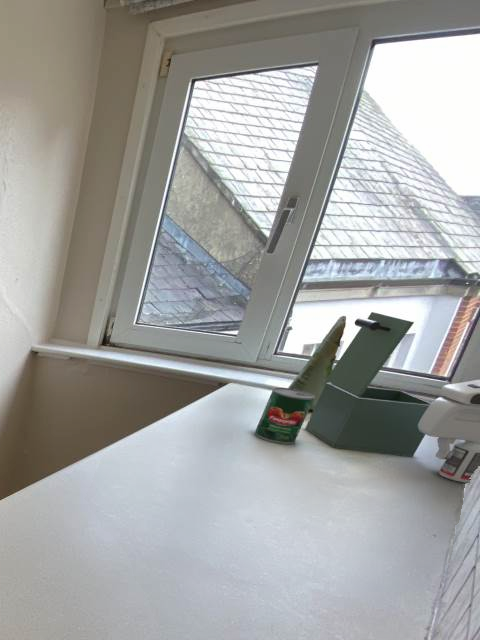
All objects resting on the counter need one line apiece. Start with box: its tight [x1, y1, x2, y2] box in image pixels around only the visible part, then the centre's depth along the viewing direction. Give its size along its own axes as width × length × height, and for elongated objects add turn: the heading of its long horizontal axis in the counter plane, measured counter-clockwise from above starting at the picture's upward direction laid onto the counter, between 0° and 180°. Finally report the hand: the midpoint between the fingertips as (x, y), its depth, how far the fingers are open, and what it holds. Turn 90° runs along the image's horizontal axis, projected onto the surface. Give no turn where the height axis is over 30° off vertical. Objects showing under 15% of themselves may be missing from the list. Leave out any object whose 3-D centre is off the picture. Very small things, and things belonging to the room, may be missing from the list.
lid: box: [326, 311, 415, 396], centre depth 121 cm, size 16×13×5 cm
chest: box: [304, 382, 432, 458], centre depth 126 cm, size 16×13×12 cm
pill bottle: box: [438, 440, 480, 484], centre depth 110 cm, size 5×5×10 cm
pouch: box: [287, 315, 347, 411], centre depth 147 cm, size 11×12×25 cm
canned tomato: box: [253, 387, 315, 445], centre depth 126 cm, size 8×8×11 cm
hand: (465, 461), depth 111 cm, fingers open, 7 cm apart
